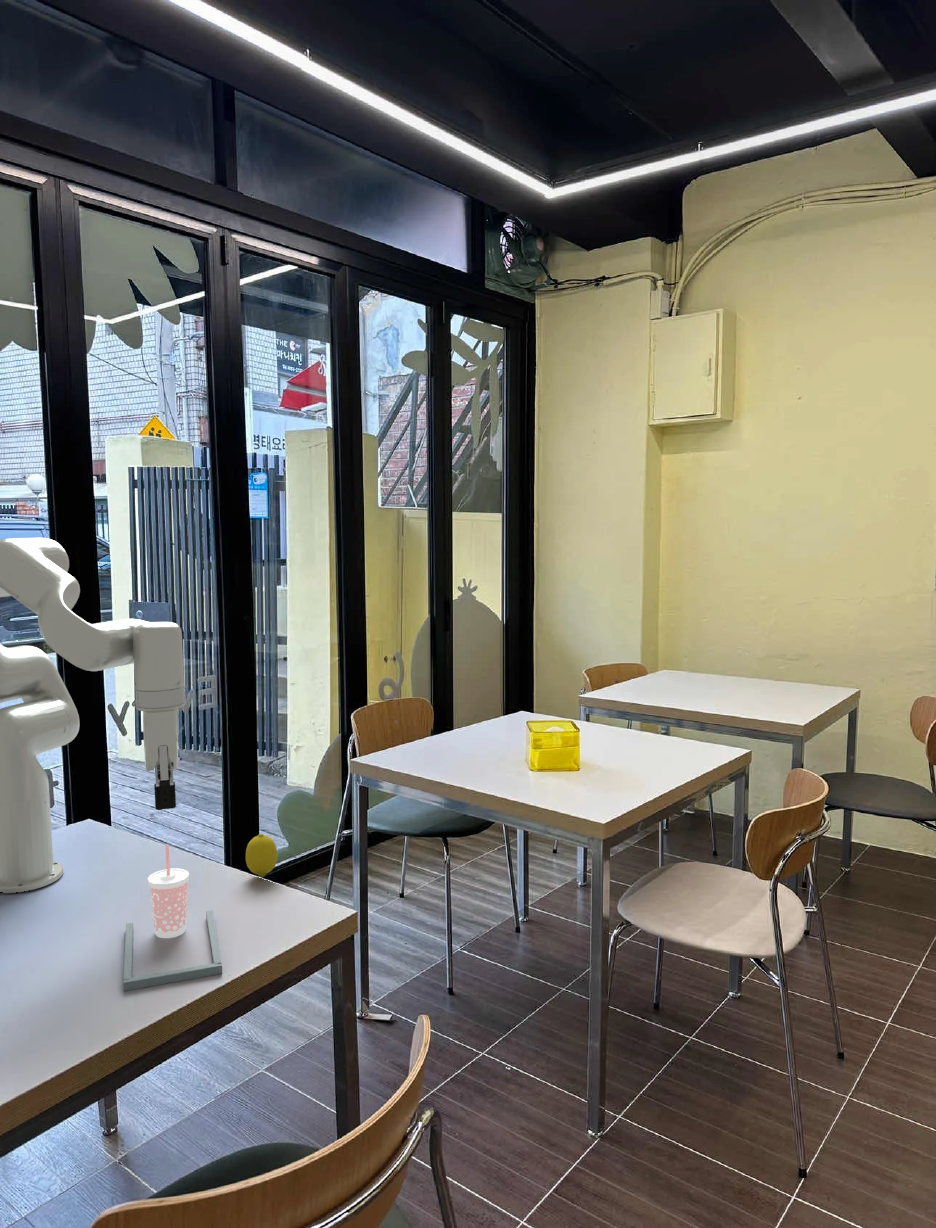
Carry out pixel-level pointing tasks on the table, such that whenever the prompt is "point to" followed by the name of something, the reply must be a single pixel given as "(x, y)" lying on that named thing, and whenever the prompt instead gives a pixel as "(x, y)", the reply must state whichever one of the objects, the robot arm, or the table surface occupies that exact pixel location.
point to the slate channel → (173, 975)
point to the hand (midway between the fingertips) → (165, 807)
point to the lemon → (261, 855)
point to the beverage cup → (169, 900)
